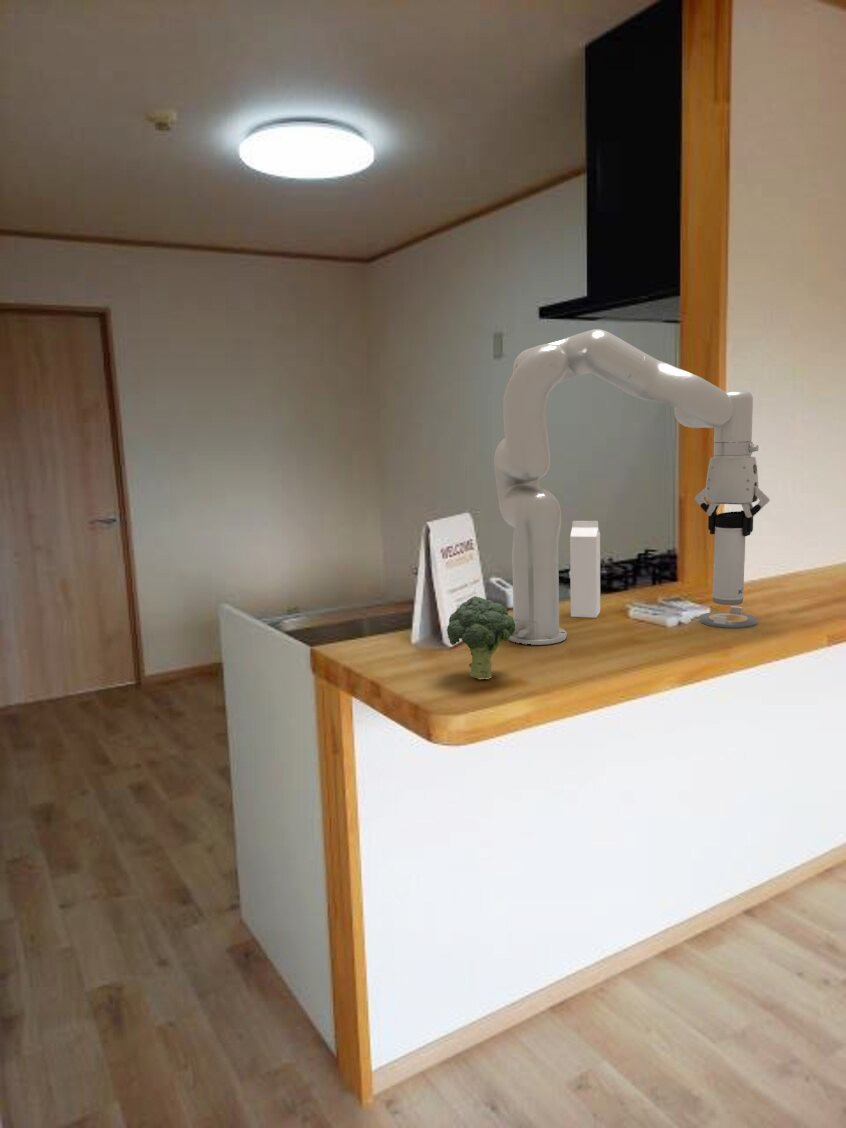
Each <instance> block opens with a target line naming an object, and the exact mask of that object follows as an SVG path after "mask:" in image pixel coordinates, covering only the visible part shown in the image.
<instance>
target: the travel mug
mask: <svg viewBox="0 0 846 1128" xmlns="http://www.w3.org/2000/svg"><path fill="white" fill-rule="evenodd" d="M744 517H745V512H744V510H743V509H742V510H740V511H737V510H736V511H728V512H727V511H726V512H721V513H717V515H716V520H715V522H716V523H715V534H714V550H713V551H714V552H713V554H714V555H713V574H712V575H713V578H712V581H713V583H712V584H713V585H712V602H713V603H714V604H717V605H723V606H738V605H741V604H743V603H744V591H745V590H744V583H745V562H746V561H745V557H746V536H743V518H744Z"/></svg>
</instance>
